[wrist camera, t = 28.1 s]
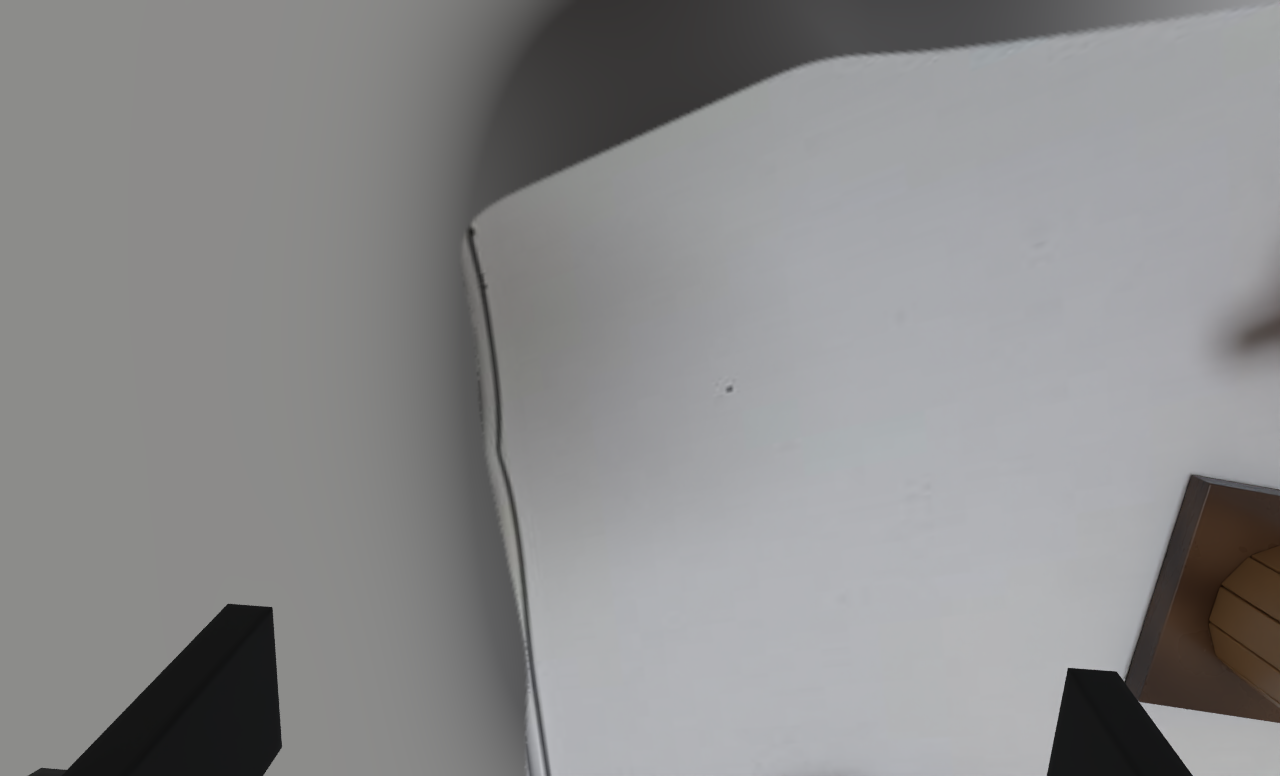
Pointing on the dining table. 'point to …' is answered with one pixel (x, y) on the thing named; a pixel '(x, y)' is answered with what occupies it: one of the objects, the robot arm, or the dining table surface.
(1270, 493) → the roll holder
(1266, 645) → the wooden stave cup
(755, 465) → the dining table surface
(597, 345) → the dining table surface
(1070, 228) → the dining table surface
